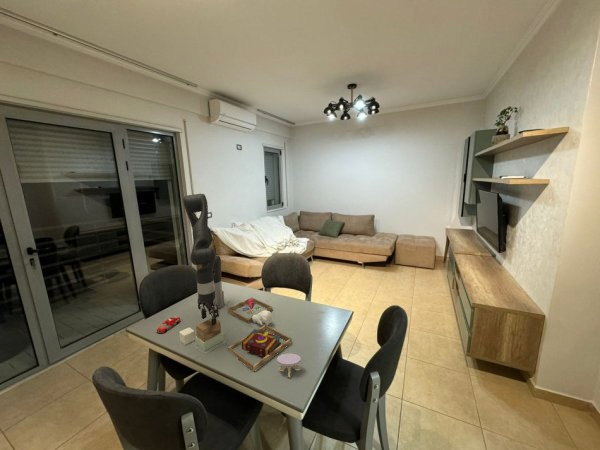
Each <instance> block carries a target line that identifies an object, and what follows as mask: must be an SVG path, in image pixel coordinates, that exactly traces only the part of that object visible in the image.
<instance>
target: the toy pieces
mask: <svg viewBox="0 0 600 450" xmlns="http://www.w3.org/2000/svg"><path fill="white" fill-rule="evenodd" d="M248 299H249V298H248ZM253 302H254V300H253V299H249V300H248V301H247V304H246V305H248V307H243V308H242V312H244V313H245V312H246V314H247V315H252V314H253V315H254V309H253V306H254V303H253ZM254 308H255V309H256V310H255V311H258V310H257V309H259V308H261V307H260V306H256V307H254ZM252 311H253V313H252Z"/></svg>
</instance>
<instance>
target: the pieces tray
mask: <svg viewBox="0 0 600 450" xmlns="http://www.w3.org/2000/svg"><path fill="white" fill-rule="evenodd" d="M249 299H253V300H254V302H253V304H256V305H258V306H259V307H260V306H261V307H262V308H264V307H265V308H264V309H265V310H266V311H271V312H272V311H273V306H272V305H270V304H267V303H265V302H264V301H261V300H258V299H256V298H254V297H250V298H246V299H245V300H243V301H240V302H238V303H236V304H235V305H232V306H230V307H228V308H227V313H228V314H230V315H232V316H233V317H235V318H236V319H238V320H240V321H242V322H243V323H246V324H247V325H249V324H251V323H254V321H253V320H252V317H253V316H251V317H248V318H247V317H245V316H244V315H243V314H240V313H239V312H236V311H235V310H237V309H239V308H241V307H244V306H246V305H248V304H247V301H248V300H249ZM266 308H267V309H266ZM259 313H260V312H259ZM259 313H256V314H255V315H257V314H259Z"/></svg>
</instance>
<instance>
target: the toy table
mask: <svg viewBox="0 0 600 450" xmlns="http://www.w3.org/2000/svg"><path fill="white" fill-rule="evenodd" d="M301 360H302V359H301V356H300V355H299V354H295V353H288V352H287V353H283V354H280V355H279V356H277V358H276V363H277V364H278V365H280V366H279V367H278V371H279V370H285V371H286V369H287V378H288V377H290V378H291V376H290V373H291V369H292V368H293V370H294V369H300V370H301V367H300V365H298V364H300V363H301Z"/></svg>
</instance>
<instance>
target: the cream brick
mask: <svg viewBox="0 0 600 450" xmlns="http://www.w3.org/2000/svg"><path fill="white" fill-rule="evenodd" d="M195 336H196V333H195V330H194V329H192V328H191V327H190V326H189V327H187V328H185V329H182V330H180V331H179V341H180V342H181V343H182V344H184V345H187V344H189V343H191V342H192V343H193V342H195Z"/></svg>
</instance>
